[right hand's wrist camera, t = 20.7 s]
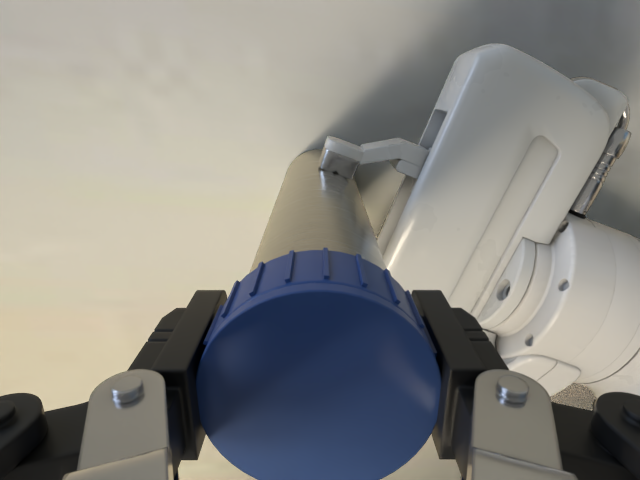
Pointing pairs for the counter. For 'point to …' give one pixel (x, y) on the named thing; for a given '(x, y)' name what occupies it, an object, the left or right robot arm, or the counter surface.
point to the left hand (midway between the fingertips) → (302, 204)
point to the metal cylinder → (318, 215)
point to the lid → (318, 371)
